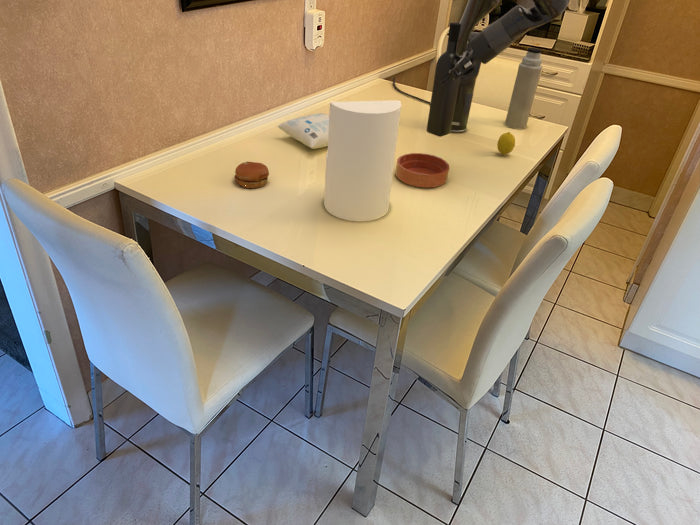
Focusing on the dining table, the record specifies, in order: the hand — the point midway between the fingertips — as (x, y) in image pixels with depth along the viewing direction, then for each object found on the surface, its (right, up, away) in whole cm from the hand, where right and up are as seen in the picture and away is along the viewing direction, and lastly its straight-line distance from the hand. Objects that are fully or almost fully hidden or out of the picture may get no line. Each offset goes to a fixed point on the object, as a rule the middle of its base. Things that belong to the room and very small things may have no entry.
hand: (441, 80), depth 147 cm
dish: (-4, -26, +10) cm, 28 cm away
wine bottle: (+1, -13, +8) cm, 15 cm away
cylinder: (-24, -36, -7) cm, 44 cm away
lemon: (+26, -15, +29) cm, 42 cm away
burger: (-53, -28, +1) cm, 60 cm away
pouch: (-36, -11, +28) cm, 47 cm away
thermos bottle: (+38, +2, +54) cm, 66 cm away
